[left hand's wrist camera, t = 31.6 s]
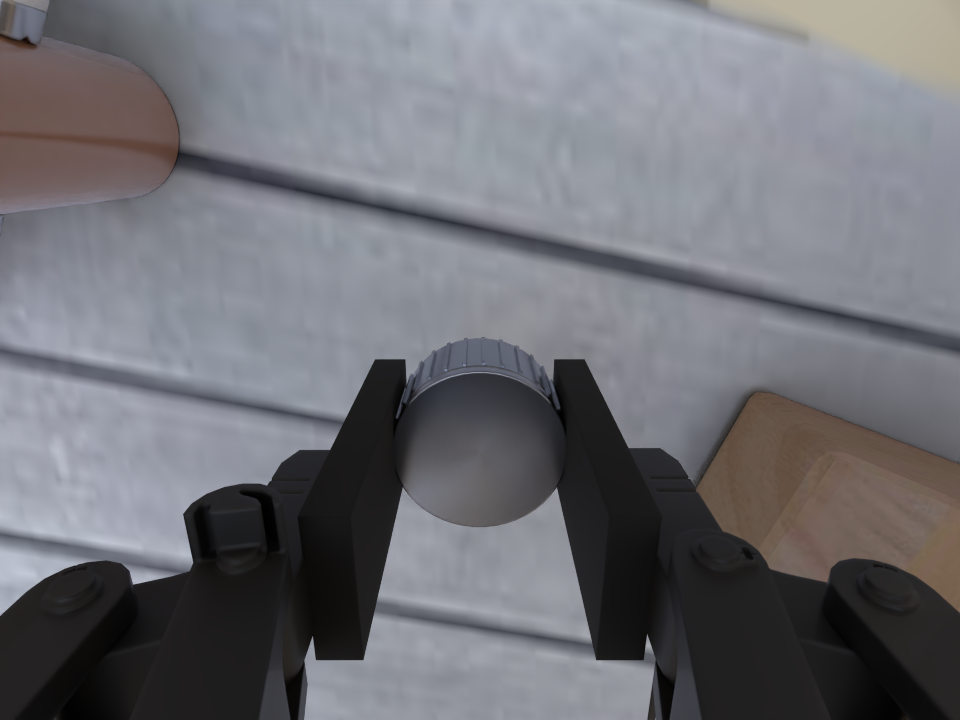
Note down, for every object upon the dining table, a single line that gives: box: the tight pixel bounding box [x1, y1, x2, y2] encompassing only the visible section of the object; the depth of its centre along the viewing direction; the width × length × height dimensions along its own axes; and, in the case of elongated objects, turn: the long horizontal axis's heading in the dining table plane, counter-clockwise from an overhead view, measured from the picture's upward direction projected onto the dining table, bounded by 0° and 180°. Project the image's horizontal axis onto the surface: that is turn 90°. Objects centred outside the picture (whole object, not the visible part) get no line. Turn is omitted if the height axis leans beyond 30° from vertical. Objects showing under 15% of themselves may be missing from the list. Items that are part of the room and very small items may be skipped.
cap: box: [394, 337, 566, 527], centre depth 14 cm, size 4×4×2 cm
